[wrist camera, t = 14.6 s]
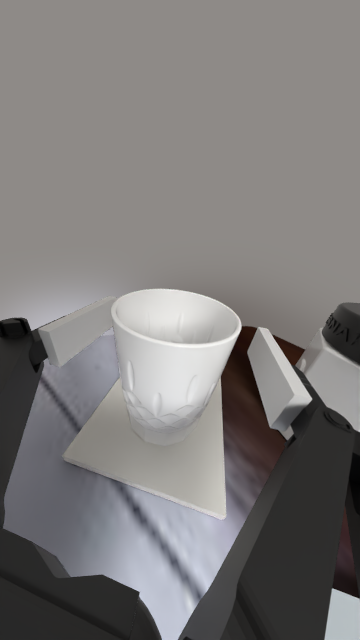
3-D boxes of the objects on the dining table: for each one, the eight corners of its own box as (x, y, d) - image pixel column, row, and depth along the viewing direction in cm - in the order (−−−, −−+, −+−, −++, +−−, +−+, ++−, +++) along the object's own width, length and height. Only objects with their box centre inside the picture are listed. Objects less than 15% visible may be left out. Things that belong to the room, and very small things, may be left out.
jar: (277, 381, 20) (332, 294, 14) (363, 426, 16) (486, 329, 10) (262, 439, 13) (351, 322, 8) (402, 544, 9) (800, 452, 4)
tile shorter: (218, 379, 19) (220, 374, 18) (222, 520, 9) (226, 516, 9) (136, 358, 20) (136, 353, 20) (64, 461, 10) (61, 455, 10)
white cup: (191, 481, 10) (240, 373, 5) (98, 425, 12) (74, 312, 7) (212, 388, 17) (242, 304, 12) (150, 362, 19) (155, 283, 14)
